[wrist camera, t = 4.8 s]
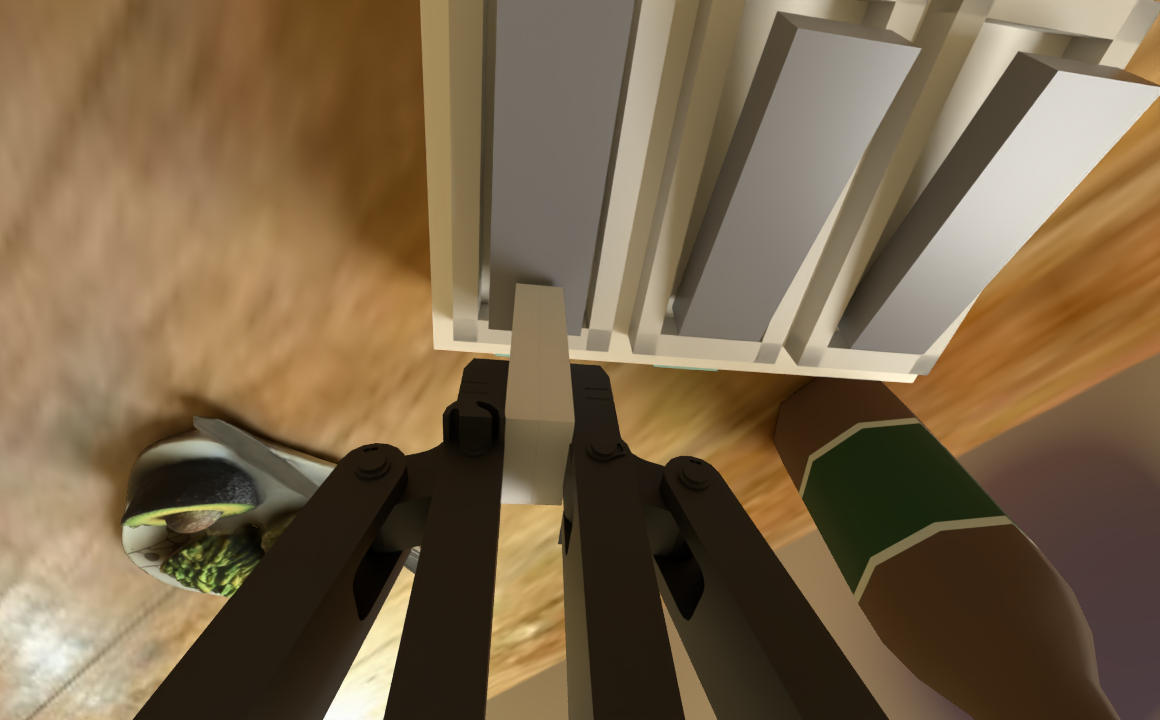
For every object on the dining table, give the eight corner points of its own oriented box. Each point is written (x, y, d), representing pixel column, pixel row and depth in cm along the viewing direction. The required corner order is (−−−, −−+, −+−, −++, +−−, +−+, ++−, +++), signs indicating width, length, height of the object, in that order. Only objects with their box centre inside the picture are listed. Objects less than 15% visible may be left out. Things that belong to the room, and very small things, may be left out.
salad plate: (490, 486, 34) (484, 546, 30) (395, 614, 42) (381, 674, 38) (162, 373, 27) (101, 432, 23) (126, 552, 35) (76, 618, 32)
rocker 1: (502, -38, 13) (498, -39, 11) (628, -17, 13) (637, -16, 12) (491, 304, 19) (488, 329, 17) (578, 312, 19) (580, 336, 18)
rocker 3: (1018, 51, 14) (1058, 70, 13) (1119, 67, 14) (1166, 87, 13) (834, 321, 21) (849, 348, 20) (904, 327, 21) (924, 354, 20)
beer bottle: (899, 432, 33) (1437, 1064, 13) (783, 474, 34) (1106, 1093, 15) (886, 344, 29) (1642, 1076, 9) (754, 396, 30) (1150, 1114, 11)
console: (444, -153, 16) (397, -230, 11) (1044, -37, 19) (1237, -54, 14) (451, 298, 25) (427, 374, 20) (855, 331, 28) (928, 406, 23)
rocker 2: (777, 11, 13) (798, 28, 12) (891, 29, 13) (922, 48, 12) (671, 307, 20) (678, 335, 19) (748, 313, 20) (759, 341, 19)
